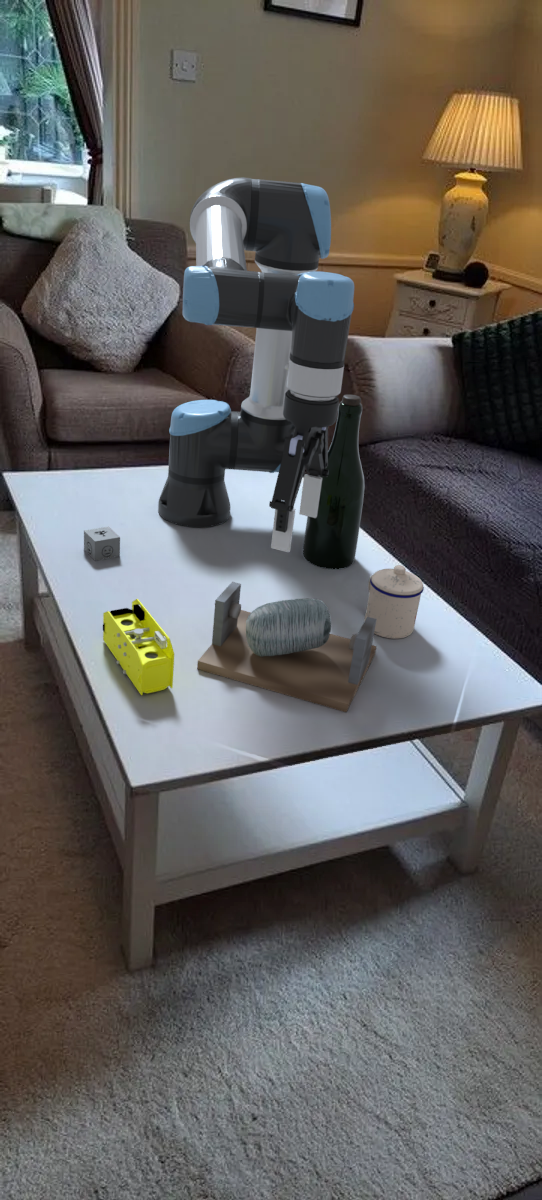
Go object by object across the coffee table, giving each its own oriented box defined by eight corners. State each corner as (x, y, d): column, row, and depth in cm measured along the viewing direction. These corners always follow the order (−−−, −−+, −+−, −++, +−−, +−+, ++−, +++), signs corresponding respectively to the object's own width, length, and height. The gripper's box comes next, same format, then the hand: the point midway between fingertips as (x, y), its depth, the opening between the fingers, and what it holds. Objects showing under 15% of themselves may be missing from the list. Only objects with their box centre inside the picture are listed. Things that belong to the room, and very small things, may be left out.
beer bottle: (362, 569, 168) (391, 404, 153) (313, 573, 165) (337, 405, 149) (341, 546, 177) (365, 387, 161) (293, 549, 173) (314, 387, 157)
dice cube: (108, 550, 165) (108, 526, 162) (119, 561, 161) (120, 537, 159) (83, 554, 162) (83, 530, 160) (94, 565, 159) (94, 541, 156)
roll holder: (240, 617, 147) (244, 568, 143) (375, 653, 141) (384, 603, 137) (197, 668, 132) (200, 615, 128) (346, 712, 126) (356, 658, 122)
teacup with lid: (424, 635, 148) (438, 576, 143) (380, 644, 144) (392, 583, 139) (387, 602, 157) (398, 545, 152) (344, 609, 154) (354, 551, 148)
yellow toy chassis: (175, 692, 127) (178, 644, 123) (139, 700, 124) (140, 651, 120) (135, 638, 139) (136, 592, 135) (101, 644, 136) (101, 598, 132)
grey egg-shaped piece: (325, 620, 141) (311, 571, 136) (346, 652, 133) (332, 601, 128) (248, 652, 140) (231, 604, 134) (265, 685, 132) (247, 636, 127)
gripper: (312, 368, 130) (296, 497, 140) (256, 410, 109) (242, 558, 120) (360, 377, 128) (340, 507, 139) (312, 422, 107) (293, 571, 118)
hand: (294, 531), depth 129 cm, fingers open, 13 cm apart
